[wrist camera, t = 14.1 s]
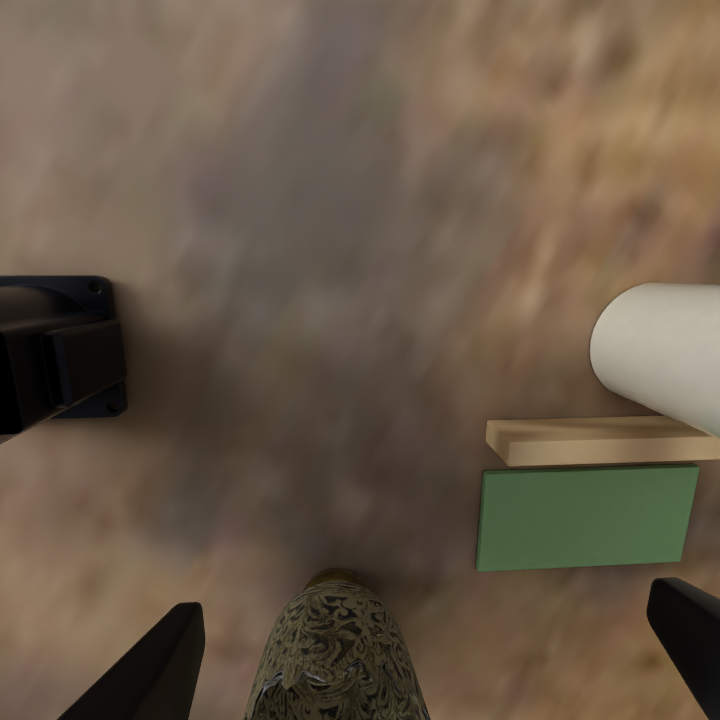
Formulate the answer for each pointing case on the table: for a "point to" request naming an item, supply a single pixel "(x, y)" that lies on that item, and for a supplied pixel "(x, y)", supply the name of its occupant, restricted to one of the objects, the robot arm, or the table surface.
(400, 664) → the cup
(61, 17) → the table surface
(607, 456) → the corner rails
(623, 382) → the lidded jar
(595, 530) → the green cloth
